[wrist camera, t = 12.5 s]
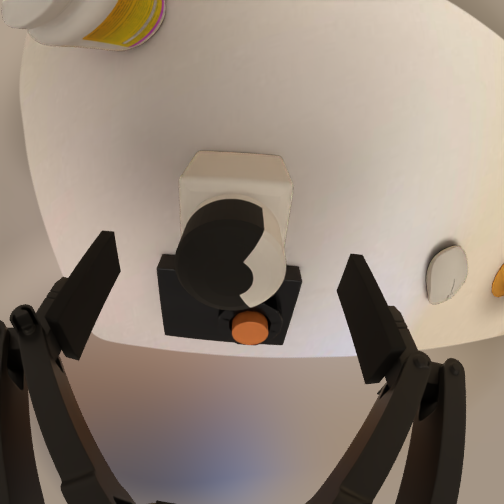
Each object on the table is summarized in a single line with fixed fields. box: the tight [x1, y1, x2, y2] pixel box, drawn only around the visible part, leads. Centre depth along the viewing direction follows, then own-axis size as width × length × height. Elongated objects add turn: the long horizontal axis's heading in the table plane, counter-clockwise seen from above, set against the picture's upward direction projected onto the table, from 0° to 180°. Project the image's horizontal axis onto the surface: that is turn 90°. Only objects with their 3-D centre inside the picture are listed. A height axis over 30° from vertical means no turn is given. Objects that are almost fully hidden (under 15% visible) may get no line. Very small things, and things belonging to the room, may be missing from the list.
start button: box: [232, 311, 268, 345], centre depth 28 cm, size 4×4×2 cm
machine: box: [157, 254, 302, 345], centre depth 30 cm, size 14×10×4 cm
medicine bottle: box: [174, 151, 293, 310], centre depth 20 cm, size 7×7×12 cm
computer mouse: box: [426, 246, 468, 304], centre depth 29 cm, size 6×10×3 cm, turn 24°
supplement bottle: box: [2, 0, 166, 51], centre depth 10 cm, size 7×7×13 cm
